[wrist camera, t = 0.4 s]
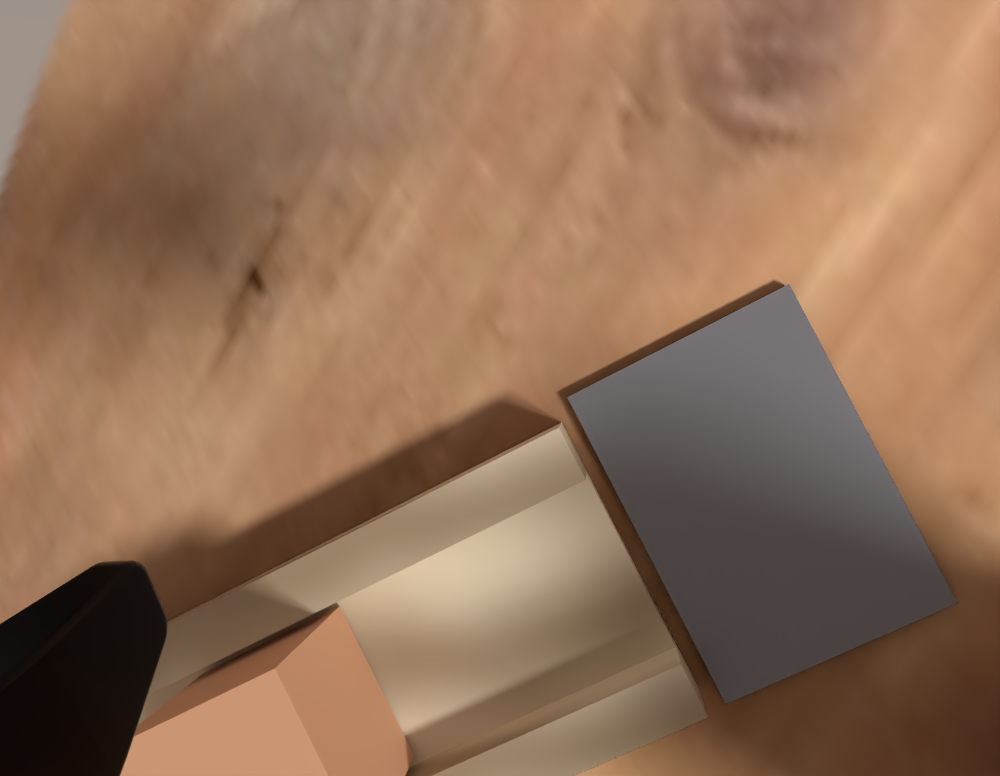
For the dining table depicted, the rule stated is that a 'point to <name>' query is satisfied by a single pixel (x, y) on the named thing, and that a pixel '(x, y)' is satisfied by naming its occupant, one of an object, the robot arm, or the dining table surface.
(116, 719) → the robot arm
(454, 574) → the chute
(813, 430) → the mat
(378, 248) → the dining table surface
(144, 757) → the block
